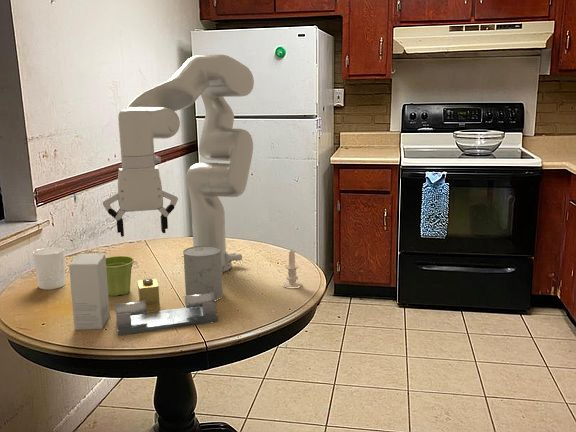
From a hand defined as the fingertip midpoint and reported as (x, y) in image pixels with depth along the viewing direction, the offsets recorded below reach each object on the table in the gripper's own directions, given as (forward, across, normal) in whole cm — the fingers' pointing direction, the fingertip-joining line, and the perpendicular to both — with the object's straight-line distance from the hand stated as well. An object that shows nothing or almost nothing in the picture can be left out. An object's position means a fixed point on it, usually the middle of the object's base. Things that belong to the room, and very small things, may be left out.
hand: (143, 233), depth 136 cm
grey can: (+19, -14, -2) cm, 24 cm away
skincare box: (+19, +13, +6) cm, 23 cm away
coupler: (+18, 0, 0) cm, 19 cm away
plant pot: (+19, +7, -13) cm, 24 cm away
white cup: (+19, +24, -25) cm, 39 cm away
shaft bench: (+18, -4, +11) cm, 22 cm away
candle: (+19, -38, -2) cm, 43 cm away
